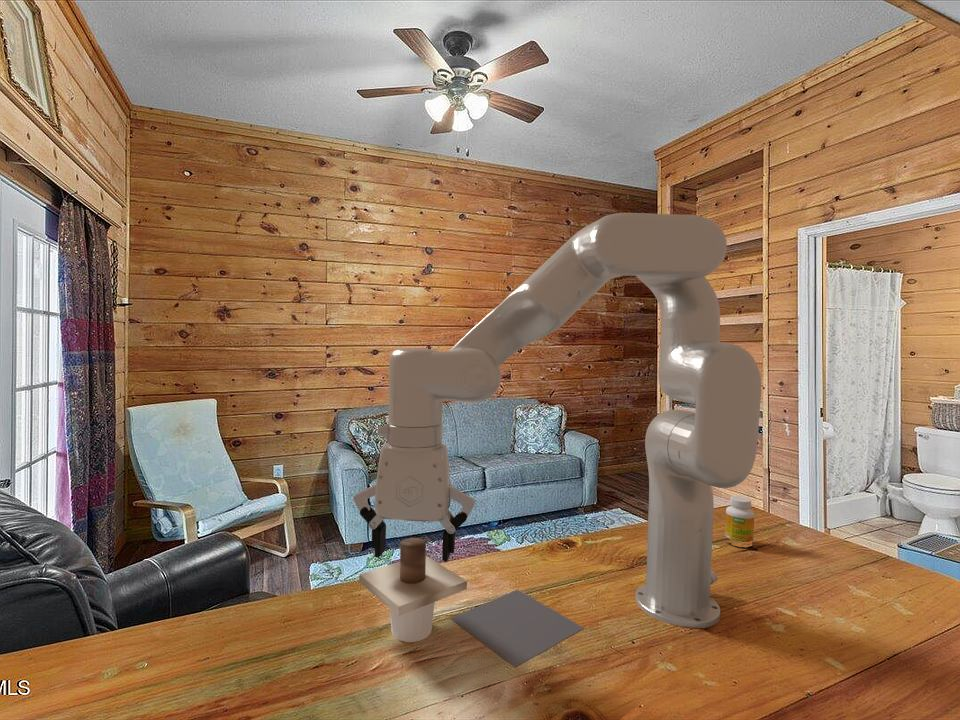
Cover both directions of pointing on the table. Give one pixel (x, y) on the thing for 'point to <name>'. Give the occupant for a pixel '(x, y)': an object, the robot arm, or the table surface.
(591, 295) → the robot arm
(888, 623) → the table surface
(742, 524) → the supplement bottle
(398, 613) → the lid
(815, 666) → the table surface
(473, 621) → the mat
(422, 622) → the white cup
